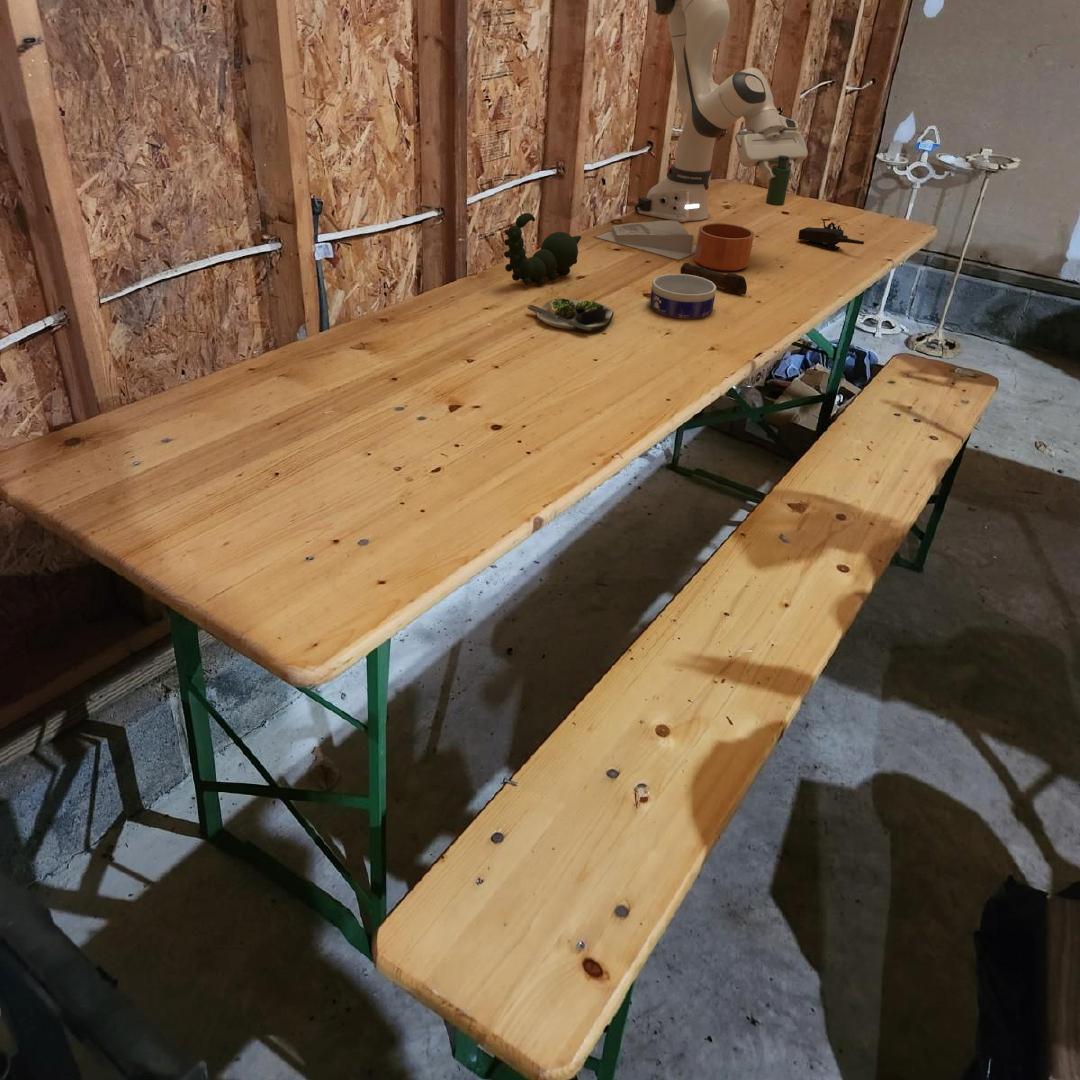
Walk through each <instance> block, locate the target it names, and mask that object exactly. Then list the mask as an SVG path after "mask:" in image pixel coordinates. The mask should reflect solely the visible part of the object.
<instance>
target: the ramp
mask: <svg viewBox="0 0 1080 1080" xmlns="http://www.w3.org/2000/svg"><path fill="white" fill-rule="evenodd" d="M595 238H597V239H600V240H603V241H607V242H611V243H615V244H619V245H621V246H626V247H630V248H634V249H637V250H640V251H644V252H648V253H652V254H655V255H659V256H663V257H667V258H670V259H673V260H677V261H680V260H682V259H685V258H688V257H689V256H692V255H693V254H694V255H695V252H696V246H697V244H694V238H695V236H694V235H693V234H692V233H689V232H688V231H687V229H686V228H685V227H684V226H683V225H682V223H681V222H679V221H674V220H654V221H645V222H630V223H621V224H615V225H612V226H611V230H610V231H607V232H604V233H601V234H599V235H596V236H595Z"/></svg>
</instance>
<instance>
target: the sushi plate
mask: <svg viewBox="0 0 1080 1080" xmlns="http://www.w3.org/2000/svg"><path fill="white" fill-rule="evenodd" d="M526 308H527V310H530V311H531V312H533V313H535V314H536V316H537V317H536V318H538V319H539V320H540V321H542V322H543V323H545V324H547V325H549V326H551V327H553V328H557V329H562V330H568V331H572V332H578V333H584V334H592V333H593V334H594V333H598V332H601V331H604V330H605V329H606V328H607V326H608V325H609V324H610V323H611V320H612V319H613V317H614V313H615V312H614V309H613V308H612V307H611V306H608V305H606V304H603V303H600V302H597V301H593V300H590V301H589V300H583V301H581V300H577V299H571V298H564V297H563V298H562V297H559V298H554V299H550V300H547V301H545V303H544V304H543V305H542V307H541V308H540V307H538V306H537V305H534V304H528V305H527V307H526Z"/></svg>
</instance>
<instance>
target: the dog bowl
mask: <svg viewBox="0 0 1080 1080" xmlns="http://www.w3.org/2000/svg"><path fill="white" fill-rule="evenodd" d="M716 292H717V286H716V285H715V284H714V283H713V282H711V281H709V280H707V279H705V278H702V277H698V276H694V275H687V274H680V273H667V274H661V275H658V276H656V277H654V278H653V279H652V283H651V291H650V302H649V305H650V308H651V310H653V311H654V312H656V313H657V314H661V315H662V316H665V317H669V318H675V319H682V320H683V319H684V320H686V319H687V320H692V319H693V320H695V319H702V318H706V317H708V316H709V315H711V314H712V312H713V310H714V309H713V308H714V304H715V299H716V294H717V293H716Z"/></svg>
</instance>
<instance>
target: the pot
mask: <svg viewBox="0 0 1080 1080" xmlns="http://www.w3.org/2000/svg"><path fill="white" fill-rule="evenodd" d="M697 233H698V234H697V241H696V245H697V246H696V252H695V253H694V260H695V262H696V263H697V264H699V265H700V266H702V267H703V268H705V269H708V270H712V271H717V272H718V271H719V272H736V271H740V270H742V269H746V268H747V267H748V266H749V264H750V259H751V254H752V248H753V242H754V237H755V233H754V231H753V230H751V229H749V228H747V227H745V226H741V225H737V224H731V223H721V222H716V223H715V222H713V223H711V222H710V223H705V224H702V225H700V226H699V228H698V232H697Z"/></svg>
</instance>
